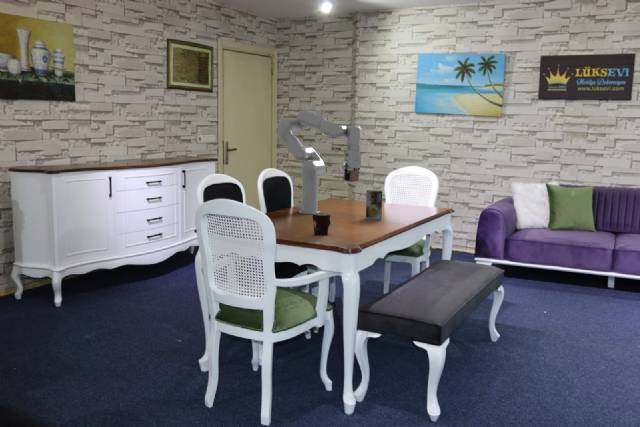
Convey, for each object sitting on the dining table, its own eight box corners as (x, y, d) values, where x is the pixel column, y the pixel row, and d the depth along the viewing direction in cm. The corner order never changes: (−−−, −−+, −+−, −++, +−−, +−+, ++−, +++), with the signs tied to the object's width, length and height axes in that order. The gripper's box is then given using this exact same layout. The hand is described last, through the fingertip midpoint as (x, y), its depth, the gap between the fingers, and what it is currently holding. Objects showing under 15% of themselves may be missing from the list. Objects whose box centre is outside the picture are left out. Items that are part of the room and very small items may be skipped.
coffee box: (381, 218, 343) (382, 190, 341) (381, 220, 337) (382, 191, 334) (365, 217, 344) (366, 189, 342) (365, 219, 338) (366, 191, 335)
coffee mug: (311, 232, 290) (311, 212, 289) (328, 233, 291) (329, 212, 289) (313, 237, 279) (313, 216, 277) (331, 237, 279) (332, 216, 278)
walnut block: (343, 180, 342) (344, 170, 341) (350, 180, 346) (351, 169, 345) (351, 181, 337) (352, 171, 336) (358, 181, 342) (359, 170, 341)
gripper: (347, 148, 330) (345, 180, 333) (367, 148, 342) (365, 179, 345) (337, 147, 335) (336, 179, 338) (357, 147, 347) (356, 178, 350)
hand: (351, 179), depth 341 cm, fingers closed on walnut block, 6 cm apart
